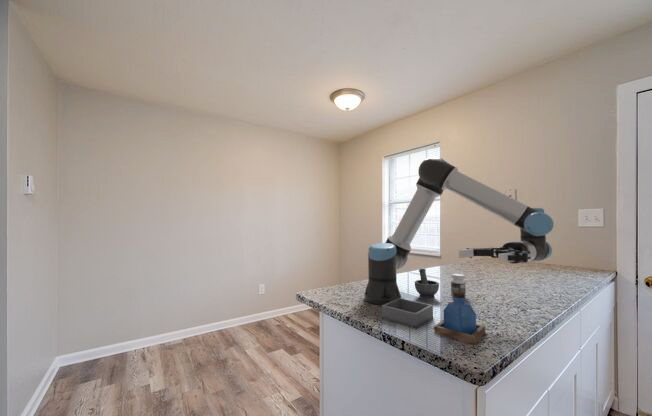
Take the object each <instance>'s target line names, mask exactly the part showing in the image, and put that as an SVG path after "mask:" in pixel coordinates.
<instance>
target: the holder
mask: <svg viewBox="0 0 652 416" xmlns="http://www.w3.org/2000/svg"><path fill="white" fill-rule="evenodd" d="M433 331H434V334H437V335H440V336H443V337H446V338H450V339H454V340H457V341H460V342H464V343H468V344H471V345H475V344H476V343H477V342H478V341H479V340H480V339H481V337H483V335H485V333H486V325H483V324H481V323H480V324H478V323H476V331H475V332H474V333H473V334H472V335H470V334H466V333H462V332H459V331H455V330H451V329H447V328H444V319H442V320H441V321H440V322H437V324H435V325H434V326H433Z"/></svg>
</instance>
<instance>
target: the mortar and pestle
mask: <svg viewBox="0 0 652 416" xmlns="http://www.w3.org/2000/svg"><path fill="white" fill-rule="evenodd" d="M418 272H419V276H420V279H418V280H415V281H414V287H415V290H416V292H417V293H418V295H419V296H418V298H419V299H420V300H423V301H434V300H435V298H436V297H435V295H436V294H437V293H438V291H439V287H440V282H437V281H435V280H431V279H428V277H427V273H426V269H425V268H419V270H418Z"/></svg>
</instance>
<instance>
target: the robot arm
mask: <svg viewBox="0 0 652 416" xmlns="http://www.w3.org/2000/svg"><path fill="white" fill-rule="evenodd" d="M417 170H418V176H419V177H418V179H417V181H416V184H415V185H416V191H415V193H414V195H413V197H412V198H411V200H410V202H409V204H408V206H407V208H406V210H405V212H404V213H403V215H402V218H401V219H400V221H399V223H398V224H397V226H396V228H395V230H394V233H393V234H392V235H390V236H388V237H387V239H386V240H385V242H380V243H379V242H378V243H373V244H370V245H369V247H368V252H367V257H368V258H367V259H368V261H367V263H368V264H367V265H368V268H367V269H368V270H367V271H368V276H367V277H368V281H367V284H366V288H365V292H364V293H363V294H364V301H365V302H367V303H369V304H373V305H377V306H378V305H379V306H382V305H384V304H387V303H389V302H391V301H394V300H396V299H399V298H402V296H401V292H400V289H399V286H398V282H397V270H399V269H401V268H402V267H403V266H405V265H406V263H407V261H408V259H409V255H410V253H411V251H412V247H411V243H412V241H413V240H414V238H415V237H416V234H417V232H418V231H419V229H420V227H421V225H422V223H423V221H424V219H425V217H426V216H427V214H428V212H429V211H430V208H431V207H432V205H433V203H434V201H435V200H436V198H438V197H441V196H442V194H443V192H444V191H445V190H448V191H450V192H452V193H454V194H455V195H458V196H459V197H461V198H463V199H465V200H467V201H469V202H471V203H473V204H474V205H475V206H478V207H480V208H482V209H484V210H485V211H488V212H489V213H491V214H492V215H495V216H497V217H499V218H500V219H502V220H504V221H506V222H508V223H510V224H512V225H514V226H516V227H517V228H519V230H520V240H518V241H516V240H515V241H508V242H506V243H504V244H503V245H502V246H499V247H477V248H476V247H473V248H470V247H467V248H465V249H458V258H459V259H465V258H470V259H472V258H474V257H491V258H493V259H498V264H505V263H506V264H507V263H509V264H512V265H513V264H522V265H525V263H529V262H540V261H544V260H546V259H549V258H550V257H551V256H552V254H553V248H552V246H551V244H550V242H548V241H547V238H546V235H548V234H550V232H551V231H552V230H553V228H554V226H555V225H554V220H553V219H552V217H551V216H550V214H547V213H545V210H544V208H542V207H530V206H528V205H527V204H525V203H523V202H520V201H518V200H517V199H514V198H513V197H510V196H508V195H506V194H505V193H502V192H501V191H499V190H496V189H495V188H492V187H490V186H488V185H486V184H484V183H483V182H481V181H478V180H476V179H474V178H472V177H470V176H468V175H466V174H464V173H462V172H460V171H459V169H458V167H456V166H454V165H452V164H450V163H449V162H447V161H446V160H445V159H443V158H442V157H440V156H429V157H427V158H425V159H423V161H421V163H420V164H419V167H418V169H417Z"/></svg>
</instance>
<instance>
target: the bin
mask: <svg viewBox="0 0 652 416" xmlns="http://www.w3.org/2000/svg"><path fill="white" fill-rule="evenodd" d="M381 319H382V320H383V321H384V320H385V321H387V322H391V323H395V324H397V325H401V326H405V327H408V328H411V327H412V329H414V330H415V329H416V330H417V329H419V328H420V327H422V326H423V325H425V324H427V323H428V322H430V321H432V320H433V319H434V305H433V304H429V303H424V302H420V301H416V300H415V301H414V300H411V299H410V300H409V299H407V298H402V297H401V298H399V299H396V300H394V301H391V302H389V303H387V304H384V305H381Z"/></svg>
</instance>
